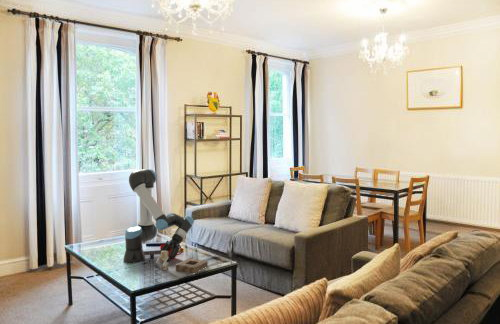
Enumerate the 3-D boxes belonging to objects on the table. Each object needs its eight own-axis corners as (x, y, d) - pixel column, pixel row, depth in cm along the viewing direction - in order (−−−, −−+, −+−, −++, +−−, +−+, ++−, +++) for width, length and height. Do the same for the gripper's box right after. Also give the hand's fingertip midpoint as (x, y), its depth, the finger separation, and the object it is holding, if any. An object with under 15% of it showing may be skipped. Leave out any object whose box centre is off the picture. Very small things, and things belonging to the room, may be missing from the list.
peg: (159, 269, 286) (159, 252, 285) (164, 267, 291) (163, 250, 290) (165, 270, 284) (165, 253, 283) (170, 268, 289) (169, 251, 287)
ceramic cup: (179, 262, 300) (179, 249, 299) (157, 261, 303) (157, 247, 302) (186, 256, 312) (186, 243, 311) (164, 255, 316) (164, 242, 315)
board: (175, 270, 285) (175, 264, 284) (189, 263, 299) (189, 257, 298) (194, 274, 278) (194, 268, 278) (207, 266, 292) (207, 260, 292)
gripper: (191, 241, 291) (172, 270, 280) (173, 236, 304) (154, 264, 293) (185, 235, 286) (166, 265, 276) (167, 230, 299) (148, 258, 289)
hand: (160, 264), depth 284 cm, fingers open, 7 cm apart
